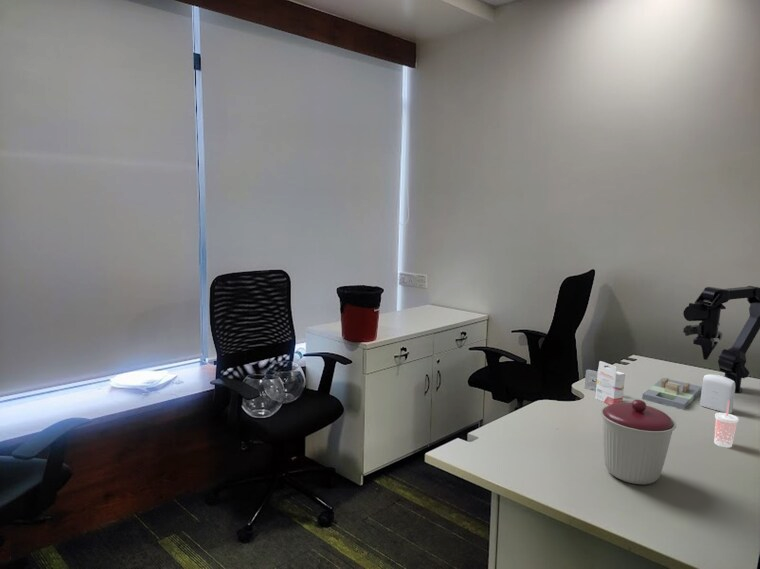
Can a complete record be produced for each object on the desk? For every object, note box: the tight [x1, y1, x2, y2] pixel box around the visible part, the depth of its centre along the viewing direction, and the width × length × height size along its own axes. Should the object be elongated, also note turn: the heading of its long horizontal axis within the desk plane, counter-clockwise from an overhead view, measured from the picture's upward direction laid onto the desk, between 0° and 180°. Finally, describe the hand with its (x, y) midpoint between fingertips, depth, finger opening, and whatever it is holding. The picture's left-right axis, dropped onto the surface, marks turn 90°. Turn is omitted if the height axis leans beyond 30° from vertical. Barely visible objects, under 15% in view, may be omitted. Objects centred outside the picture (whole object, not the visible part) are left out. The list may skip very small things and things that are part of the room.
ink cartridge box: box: [594, 360, 626, 405], centre depth 195 cm, size 9×5×15 cm, turn 25°
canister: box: [600, 399, 677, 485], centre depth 142 cm, size 18×18×21 cm
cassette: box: [584, 369, 598, 392], centre depth 206 cm, size 12×2×8 cm, turn 51°
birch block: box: [664, 382, 680, 395], centre depth 202 cm, size 4×4×3 cm
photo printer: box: [699, 374, 736, 414], centre depth 191 cm, size 10×4×12 cm, turn 39°
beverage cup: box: [713, 401, 740, 449], centre depth 163 cm, size 6×6×14 cm
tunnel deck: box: [641, 377, 702, 411], centre depth 204 cm, size 26×14×4 cm, turn 137°
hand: (705, 359), depth 207 cm, fingers closed
